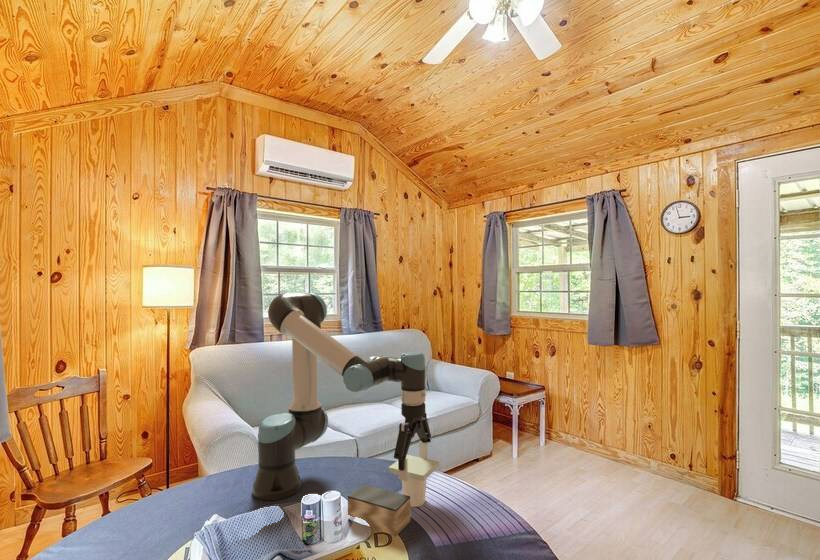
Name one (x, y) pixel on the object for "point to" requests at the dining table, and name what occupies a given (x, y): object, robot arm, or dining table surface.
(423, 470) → the cover board
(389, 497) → the stand
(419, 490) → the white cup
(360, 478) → the dining table surface
